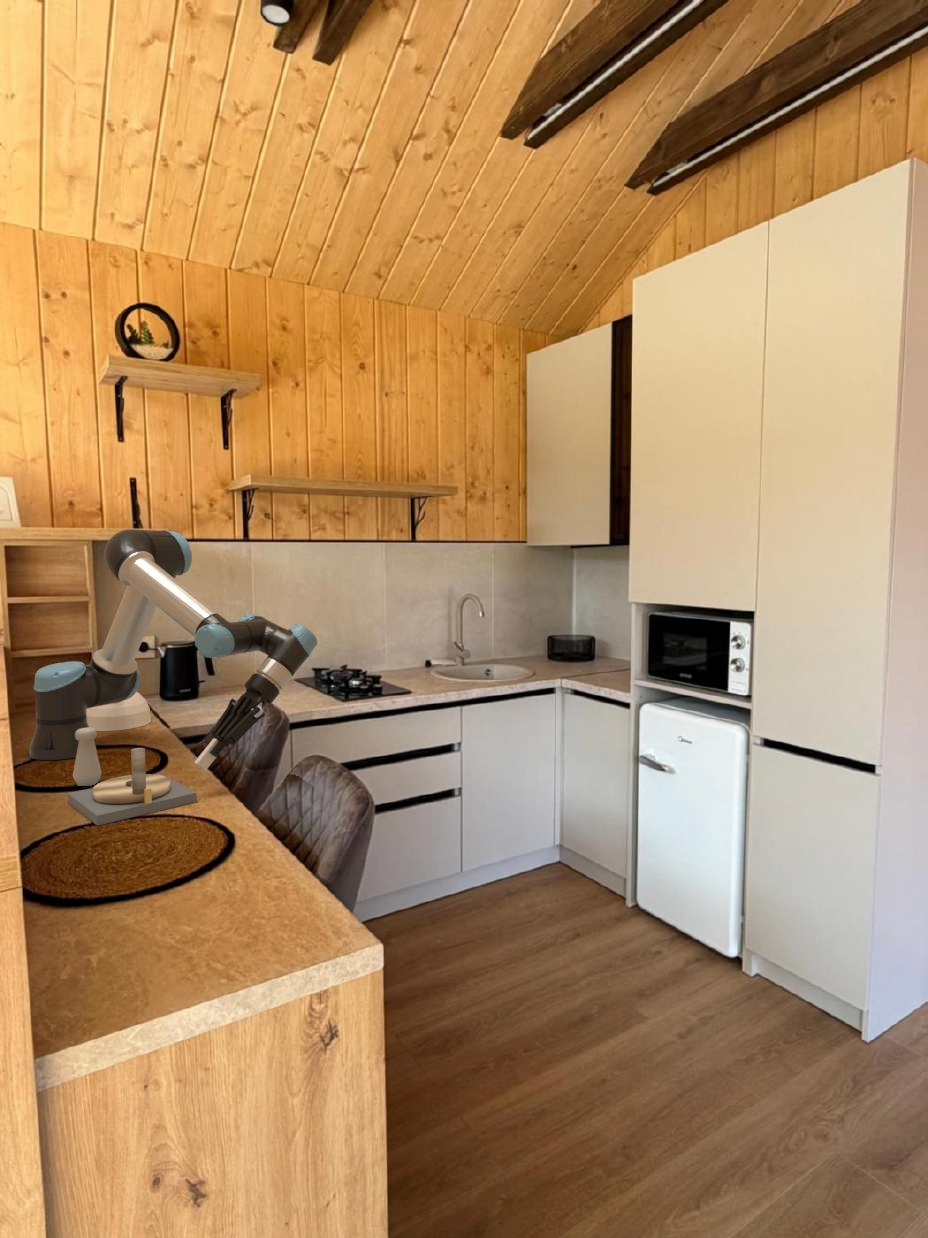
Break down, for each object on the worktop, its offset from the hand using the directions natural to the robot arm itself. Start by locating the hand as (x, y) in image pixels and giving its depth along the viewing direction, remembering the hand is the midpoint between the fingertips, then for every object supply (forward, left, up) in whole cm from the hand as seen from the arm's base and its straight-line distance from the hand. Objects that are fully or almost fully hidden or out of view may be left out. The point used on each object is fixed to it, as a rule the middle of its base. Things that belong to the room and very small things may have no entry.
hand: (200, 766), depth 158 cm
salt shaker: (-25, -15, -7) cm, 30 cm away
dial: (-6, -12, -4) cm, 14 cm away
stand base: (-6, -12, -7) cm, 15 cm away
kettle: (-82, +11, -7) cm, 83 cm away
